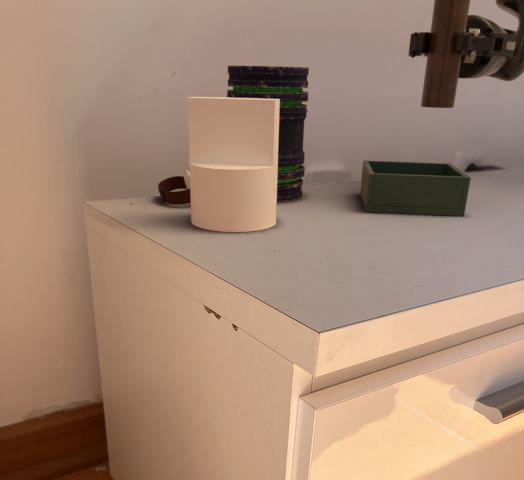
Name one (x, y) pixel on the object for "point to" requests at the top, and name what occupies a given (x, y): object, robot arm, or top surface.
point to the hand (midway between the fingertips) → (440, 42)
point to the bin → (414, 188)
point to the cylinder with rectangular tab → (233, 162)
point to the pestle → (444, 53)
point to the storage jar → (290, 116)
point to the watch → (174, 184)
